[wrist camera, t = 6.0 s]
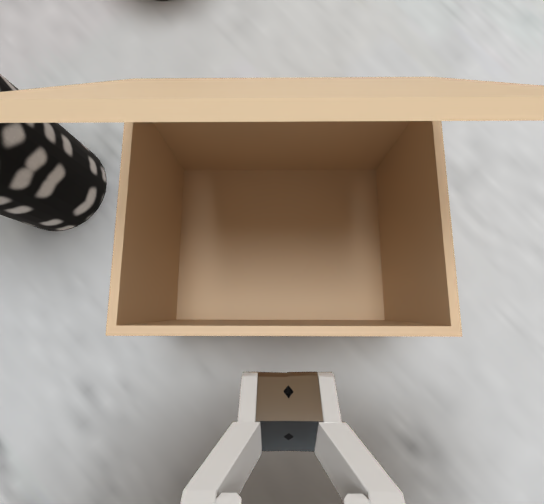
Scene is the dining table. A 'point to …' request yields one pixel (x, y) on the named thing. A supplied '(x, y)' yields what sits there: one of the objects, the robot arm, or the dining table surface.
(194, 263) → the carton
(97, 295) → the dining table surface
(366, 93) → the carton flap
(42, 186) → the white-spotted black cylinder
